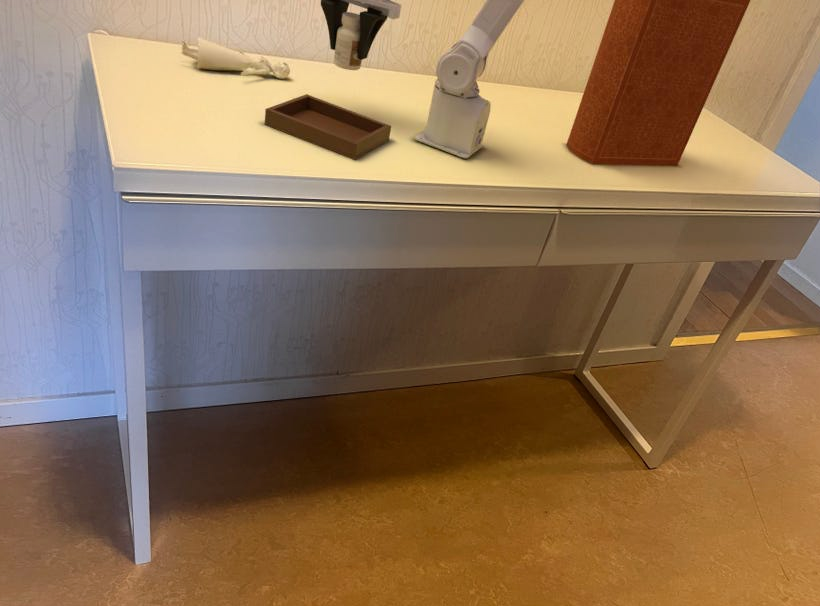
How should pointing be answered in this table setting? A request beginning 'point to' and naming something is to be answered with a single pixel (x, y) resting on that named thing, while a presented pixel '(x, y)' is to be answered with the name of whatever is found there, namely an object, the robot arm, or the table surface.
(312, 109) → the tray
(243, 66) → the woman figurine
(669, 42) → the book
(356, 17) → the pill bottle
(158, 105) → the table surface
